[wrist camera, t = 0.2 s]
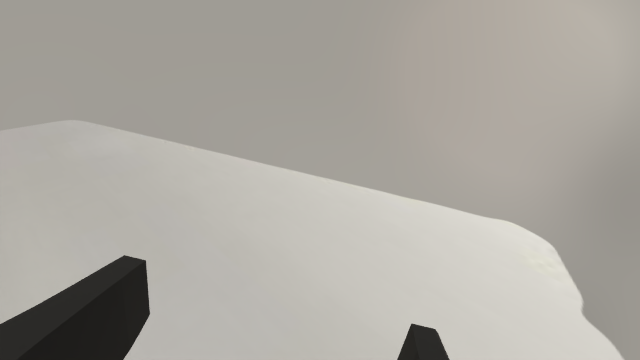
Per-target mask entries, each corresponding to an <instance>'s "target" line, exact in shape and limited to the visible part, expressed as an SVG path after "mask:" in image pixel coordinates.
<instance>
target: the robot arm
mask: <svg viewBox="0 0 640 360" xmlns="http://www.w3.org/2000/svg"><path fill="white" fill-rule="evenodd" d="M149 315H150V310H149V297H148V283H147V270H146V260H142V259H137V258H133V257H129V256H125V255H124V256H123V257H121V258H119V259H117V260H115V261H114V262H112V263H110V264H108V265H107V266H105V267H103V268H101V269H100V270H98V271H96V272H94V273H93V274H91V275H89V276H88V277H86V278H84V279H82V280H81V281H79V282H77V283H75V284H74V285H72V286H70V287H68V288H67V289H65V290H63V291H61V292H60V293H58V294H56V295H54V296H52V297H51V298H49V299H47V300H45V301H44V302H42V303H40V304H38V305H36V306H35V307H33V308H31V309H29V310H27V311H25V312H23V313H21V314H19V315H17V316H15V317H13V318H11V319H10V320H8V321H6V322H4V323H2V324H0V360H123V359H124V358H125V356H126V355H127V353H128V352H129V350H130V349H131V347H132V345H133V344H134V342H135V340H136V338H137V337H138V335H139V333H140V331H141V330H142V328H143V326H144V324H145V322H146V320H147V319H148V317H149ZM397 360H449V358H448V355H447V353H446V351H445V349H444V346H443V344H442V342H441V339H440V337H439V335H438V333H437V331H436V330H435V329H432V328H428V327H424V326H420V325H415V324H411V326H410V329H409V331H408V334H407V336H406V339H405V341H404V344H403V347H402V349H401V352H400V354H399V357H398V359H397Z"/></svg>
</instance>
